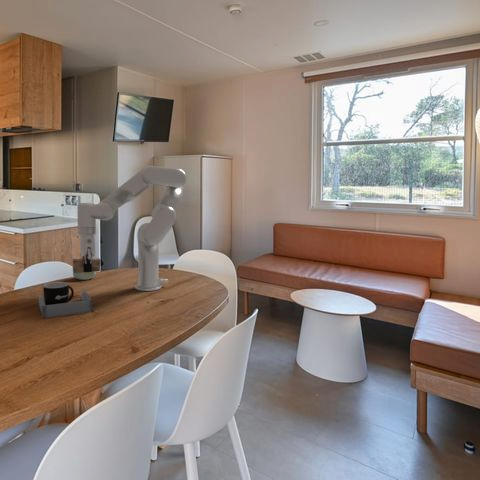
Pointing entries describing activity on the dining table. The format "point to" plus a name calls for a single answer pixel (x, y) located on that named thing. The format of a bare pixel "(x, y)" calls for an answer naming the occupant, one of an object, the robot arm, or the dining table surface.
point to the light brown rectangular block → (79, 265)
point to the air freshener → (84, 275)
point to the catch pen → (66, 306)
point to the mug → (57, 293)
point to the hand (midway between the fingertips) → (86, 270)
